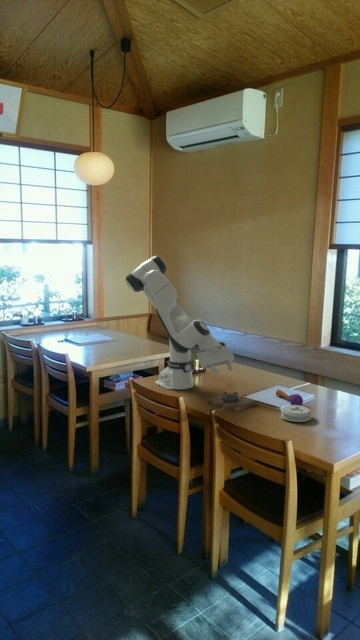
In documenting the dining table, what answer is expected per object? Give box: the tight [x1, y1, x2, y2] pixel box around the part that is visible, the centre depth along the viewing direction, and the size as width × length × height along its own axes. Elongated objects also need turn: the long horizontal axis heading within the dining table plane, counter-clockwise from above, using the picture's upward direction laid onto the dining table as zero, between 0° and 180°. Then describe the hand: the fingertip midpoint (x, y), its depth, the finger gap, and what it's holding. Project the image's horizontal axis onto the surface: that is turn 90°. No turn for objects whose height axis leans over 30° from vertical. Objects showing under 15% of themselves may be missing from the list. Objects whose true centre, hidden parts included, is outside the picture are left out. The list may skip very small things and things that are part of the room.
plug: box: [225, 382, 236, 395], centre depth 219 cm, size 4×4×8 cm
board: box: [207, 395, 257, 413], centre depth 219 cm, size 18×14×2 cm
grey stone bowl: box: [221, 390, 240, 403], centre depth 219 cm, size 8×8×4 cm
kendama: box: [275, 389, 304, 406], centre depth 221 cm, size 6×6×20 cm
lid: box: [280, 404, 312, 423], centre depth 199 cm, size 13×13×5 cm
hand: (224, 371), depth 222 cm, fingers open, 8 cm apart
